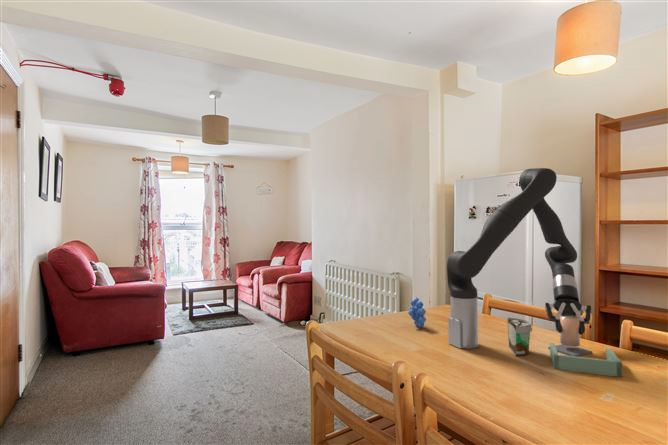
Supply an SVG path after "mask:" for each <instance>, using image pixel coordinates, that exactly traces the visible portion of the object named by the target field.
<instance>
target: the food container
mask: <svg viewBox="0 0 668 445" xmlns="http://www.w3.org/2000/svg"><path fill="white" fill-rule="evenodd" d="M506 322H507V334H508V348H509V349H510V351H511V352H512V354H513V355H514V356H515V357H526V356H528V355H529V353H530V352H529V351H530V339H531V338H530V337H531V332H532V331H533V327H532V324H531V322H530V321H527V320H525V319H523V318H522V319H521V318H517V317H516V318H515V317H507V320H506Z"/></svg>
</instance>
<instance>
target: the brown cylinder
mask: <svg viewBox="0 0 668 445" xmlns="http://www.w3.org/2000/svg"><path fill="white" fill-rule="evenodd" d="M560 323H561V333H559V339H560V340H559V341H560V345H561V344H563V345H567V346H577V347H579V346H581V335H580V321H579V317H577V316H574V315H560Z"/></svg>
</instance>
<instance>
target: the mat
mask: <svg viewBox="0 0 668 445" xmlns="http://www.w3.org/2000/svg"><path fill="white" fill-rule="evenodd" d="M555 346H556V349H557V352H558V353H560V354H562V355H568V356H577V357H582V356H585V355H590V354H593V350H590V349H587V348H584V347H579V346H567V345H563V344H561V343H560V344H555ZM547 348H548V350H550V346H548V347H547Z"/></svg>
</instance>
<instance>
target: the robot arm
mask: <svg viewBox="0 0 668 445" xmlns="http://www.w3.org/2000/svg"><path fill="white" fill-rule="evenodd" d="M518 178H519V180H518V182H519V187H520V189H521V191H522V192H520V193H519V194H517V195H516V196H514V197H512V198H511V199H509V200H507V201H506V202H505V201H504V202H503V203H502V204H501V205H499V206H498V207H497V208H496V209H494V211H493V212H492V213H491V214H490V216H489V217H488V218H487V219H486V220H485V222H484V223H483V226H482V230H481V233H480V235H479V238H478V239H477V241H475V243H473V245H472V246H470V248H469V249H467V250H466V251H464V250H463V251H462V250H456V251H453V252H451V253H450V255H449V256H448V258H447V261H446V275H447V276H446V278H447V279H446V280H447V287H448V290H449V298H450V300H449V301H450V302H449V303H450V307H449V310H450V316H448V318H447V319H448V320H447V321H448V322H447V323H448V325H447V326H448V329H447V330H448V344H449V345H451V346H454V347H455V348H458V349H475V348H478V347H479V316H478V314H479V313H478V312H479V311H478V309H479V308H478V304H479V303H478V302H479V301H478V290H477V287H475V285H474V284H473V280H472V279H473V278H474V277H476V276H477V275H478V274H479V273H480V272H481V271H483V270H482V269H484V267H485V266H486V264H487V262H488V261H489V259H490V258H491V257H492V255H493V254H494V253H495V252H496V251H497V249H498V248H499V247H500V246H501V245H502V244H503V242H504V241H505V240H506V239H508V237H509V236H510V234H512V232H513V231H514V230H515V229H516V228H517V227H518V225H519V224H520V223H521V222H522V220H523V219H524V218H525V217H527V216H528V214H529V213H530V212H531V211H533V213H534V215H535V217H536V219H537V222H538V223H539V226H540V229H541V232H542V236H543V239H544V240H545V243H547V244H550V245H556V246H551V247H548V248H546V250H545V251H544V258H545V260H546V262H547V263H548V266H549V267H550V269H551V273H552V292H553V301H554V302H553V303H549V302H545V304H544V309H545V312H546V314H547V318H548V321H549V322H553V323H555V324H554V325H555V331H557V332H558V333H559V334H560V333H561V323H560V315H574V316H577V317H579V321H580V336H581V335H582V336H583V334H584V333H585V332H586V327H585V324H586V325H589V324H590V322H591V313H592V306H591V305H589V304H588V305H583V304H582V303H581V302H580V298H579V297H580V296H579V292H578V291H579V290H578V284H577V281H576V278H575V271H574V267H573V266H572V265H571V264H572V263H575V262H576V261H577V259H578V252H577V250H576V249H575V247H574V245H572V243H571V242H570V241H569V239H568V238H567V236H566V232H565V230H564V227H563V224H562V221H561V218H560V217H559V216H558V214H557V213H556V212H555V211H554V209H552V207H551V206H550V205H549V204H548V202H547V201H546V199H545V197H546V196H547V195H549V194H550V193H551V191H552V190H553V189H554V188H555V186H556V183H557V174H556V172H555V171H554V170H553V169H551V168H546V167H542V168H541V167H539V168H538V167H537V168H527V169H525V170H523V171H522V172H521V173H520V176H519V177H518ZM553 309H555V311H557V313H556V315H553V311H552V310H553ZM581 310H582V312H583V313H584V314H585V318H583V316H582V315H581V312H580V311H581Z"/></svg>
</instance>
